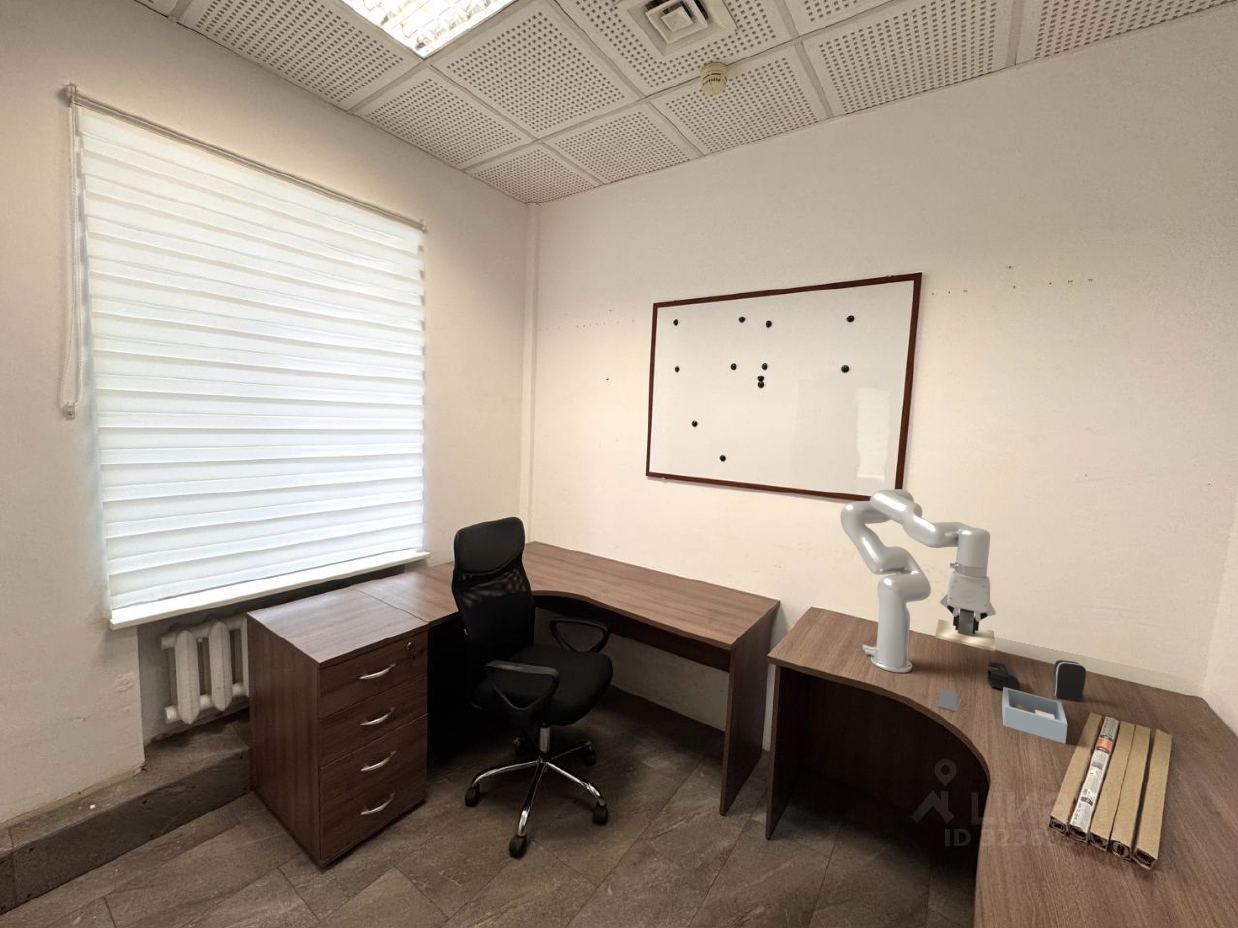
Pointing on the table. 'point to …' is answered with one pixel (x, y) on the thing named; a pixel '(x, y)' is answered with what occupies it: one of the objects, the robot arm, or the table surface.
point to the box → (1034, 715)
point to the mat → (947, 700)
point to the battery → (1069, 680)
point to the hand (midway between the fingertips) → (965, 629)
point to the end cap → (1002, 676)
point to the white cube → (1044, 714)
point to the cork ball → (1020, 707)
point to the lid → (965, 632)
